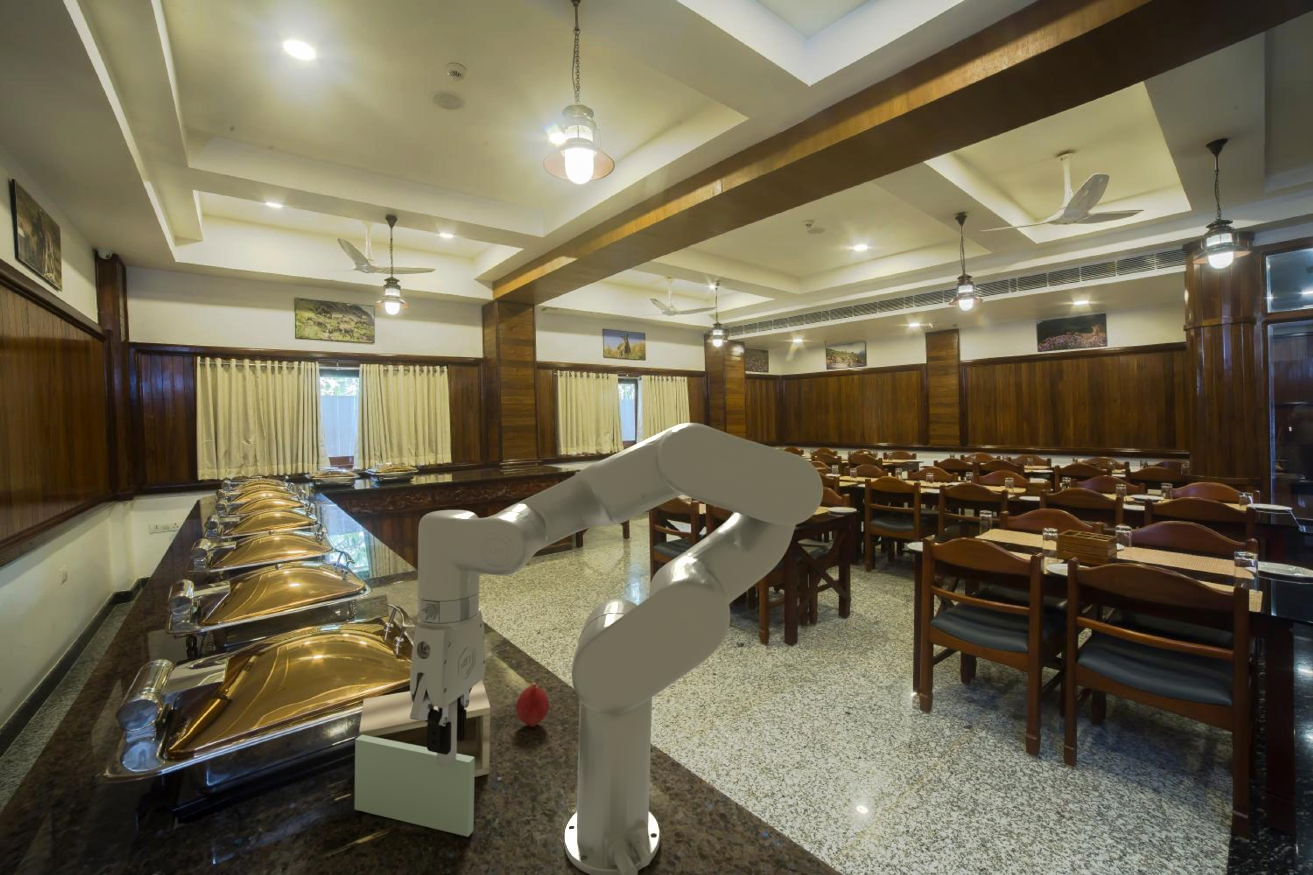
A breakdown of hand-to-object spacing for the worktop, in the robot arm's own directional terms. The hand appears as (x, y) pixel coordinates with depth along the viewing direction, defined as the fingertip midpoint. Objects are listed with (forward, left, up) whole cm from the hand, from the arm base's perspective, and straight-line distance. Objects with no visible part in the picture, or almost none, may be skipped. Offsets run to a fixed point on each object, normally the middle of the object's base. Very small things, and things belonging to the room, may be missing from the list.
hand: (446, 743), depth 72 cm
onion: (+22, -16, -13) cm, 30 cm away
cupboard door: (+4, +4, -12) cm, 14 cm away
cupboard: (+16, +2, -13) cm, 21 cm away
